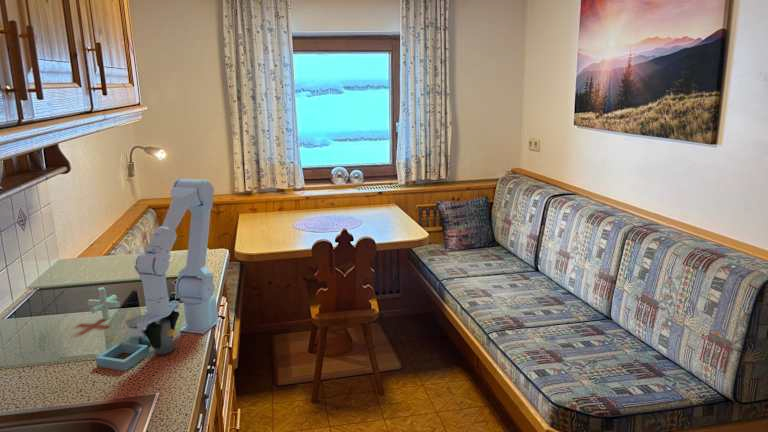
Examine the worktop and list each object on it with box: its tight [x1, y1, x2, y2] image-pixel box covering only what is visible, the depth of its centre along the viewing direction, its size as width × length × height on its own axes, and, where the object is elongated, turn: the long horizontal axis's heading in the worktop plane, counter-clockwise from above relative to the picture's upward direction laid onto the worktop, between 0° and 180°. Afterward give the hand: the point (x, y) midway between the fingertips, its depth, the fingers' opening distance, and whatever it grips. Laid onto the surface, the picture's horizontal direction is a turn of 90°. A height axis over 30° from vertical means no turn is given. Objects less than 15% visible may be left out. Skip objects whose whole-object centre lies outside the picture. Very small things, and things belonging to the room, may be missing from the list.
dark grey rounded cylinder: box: [153, 319, 177, 355], centre depth 150 cm, size 5×6×8 cm
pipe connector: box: [87, 286, 121, 321], centre depth 172 cm, size 10×10×10 cm
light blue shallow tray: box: [95, 341, 151, 372], centre depth 148 cm, size 9×9×2 cm
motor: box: [124, 314, 152, 347], centre depth 157 cm, size 11×7×7 cm
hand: (163, 342), depth 151 cm, fingers closed on dark grey rounded cylinder, 5 cm apart
